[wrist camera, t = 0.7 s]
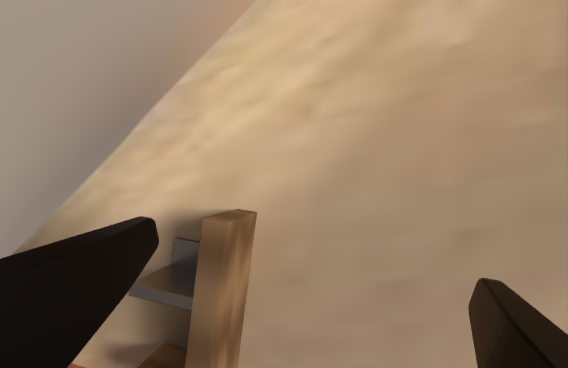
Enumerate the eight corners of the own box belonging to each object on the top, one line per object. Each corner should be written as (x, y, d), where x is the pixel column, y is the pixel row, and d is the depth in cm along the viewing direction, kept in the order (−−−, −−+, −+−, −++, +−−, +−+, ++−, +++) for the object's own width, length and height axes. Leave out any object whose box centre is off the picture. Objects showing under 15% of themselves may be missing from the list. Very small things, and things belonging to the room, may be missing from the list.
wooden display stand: (231, 412, 23) (193, 490, 17) (158, 390, 25) (100, 455, 19) (256, 212, 23) (226, 222, 17) (180, 200, 24) (128, 206, 18)
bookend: (235, 286, 23) (206, 315, 18) (172, 273, 24) (128, 296, 19) (239, 249, 23) (211, 267, 18) (176, 237, 24) (134, 252, 19)
